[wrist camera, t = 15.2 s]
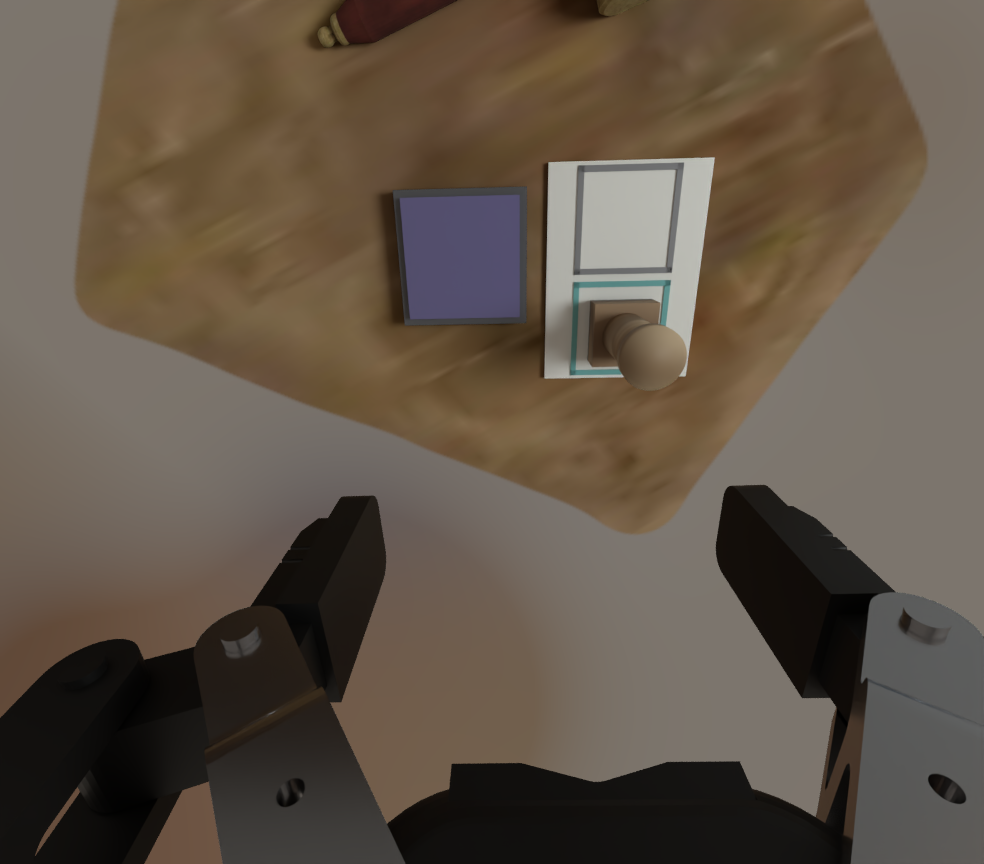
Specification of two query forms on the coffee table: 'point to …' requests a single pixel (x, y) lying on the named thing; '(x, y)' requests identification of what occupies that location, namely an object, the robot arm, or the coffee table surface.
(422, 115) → the coffee table surface
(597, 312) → the stamp
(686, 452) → the coffee table surface
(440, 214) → the ink pad
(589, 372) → the sheet
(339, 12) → the gavel
